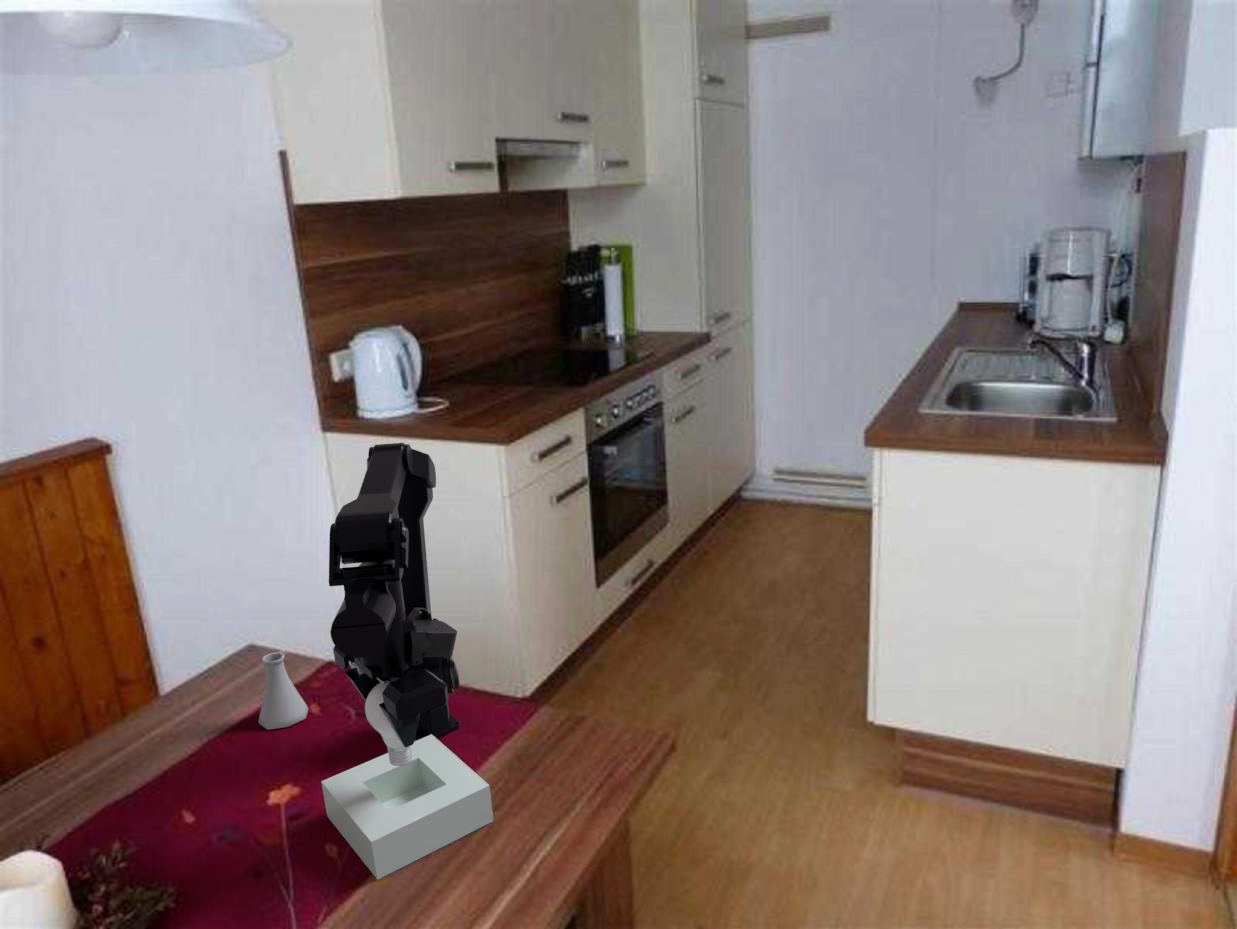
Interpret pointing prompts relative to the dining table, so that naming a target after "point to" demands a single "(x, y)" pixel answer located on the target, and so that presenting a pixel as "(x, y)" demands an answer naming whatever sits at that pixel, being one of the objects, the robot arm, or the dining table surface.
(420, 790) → the socket block
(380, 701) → the lightbulb
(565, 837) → the dining table surface
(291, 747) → the dining table surface
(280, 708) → the flask
